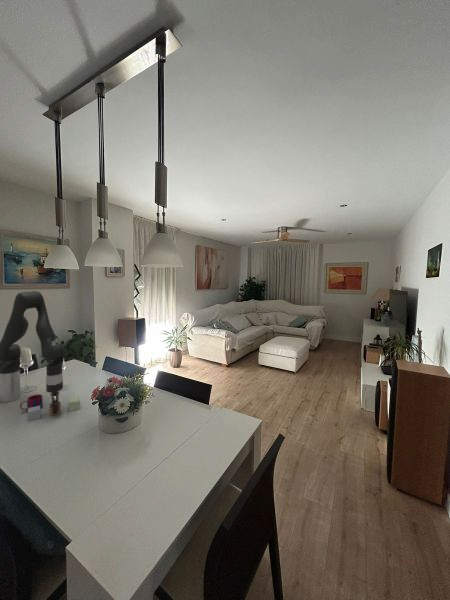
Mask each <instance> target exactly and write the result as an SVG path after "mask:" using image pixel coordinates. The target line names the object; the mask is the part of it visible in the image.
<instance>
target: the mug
mask: <svg viewBox="0 0 450 600" xmlns="http://www.w3.org/2000/svg"><path fill="white" fill-rule="evenodd" d="M23 403H26V404H27V405H26V406H27V408H22V404H23ZM36 406H40V410H41V409H43V395H42V394H33V395H30V396H29V397H27V400H24V401H21V402H20V404H19V408H20V409H21V410H23V411H28V408H32V407H36Z"/></svg>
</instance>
